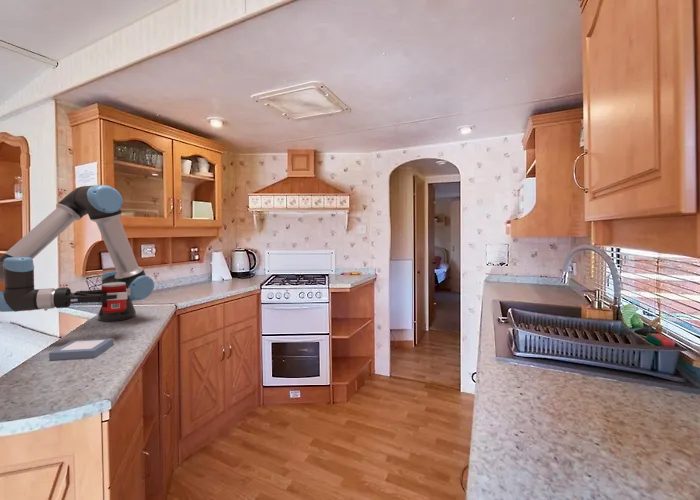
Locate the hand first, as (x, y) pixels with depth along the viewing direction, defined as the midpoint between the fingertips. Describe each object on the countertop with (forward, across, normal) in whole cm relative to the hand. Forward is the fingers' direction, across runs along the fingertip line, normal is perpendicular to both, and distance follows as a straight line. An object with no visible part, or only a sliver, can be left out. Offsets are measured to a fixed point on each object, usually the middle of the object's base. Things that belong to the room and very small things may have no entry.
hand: (128, 293), depth 132 cm
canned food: (-5, 0, -7) cm, 8 cm away
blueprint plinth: (-12, +15, -17) cm, 26 cm away
